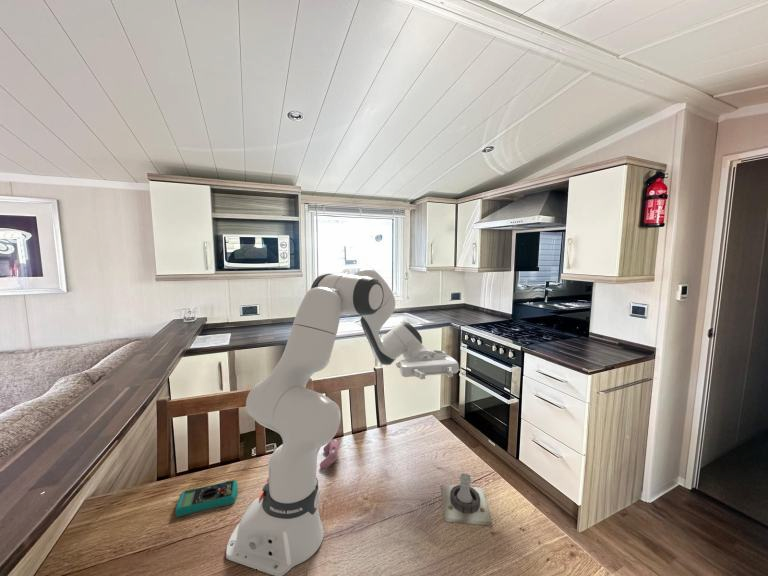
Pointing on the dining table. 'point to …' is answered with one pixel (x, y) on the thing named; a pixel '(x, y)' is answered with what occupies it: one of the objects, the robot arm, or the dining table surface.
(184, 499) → the digital multimeter
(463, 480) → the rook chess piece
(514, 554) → the dining table surface
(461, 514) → the socket block
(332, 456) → the pink irregular piece
